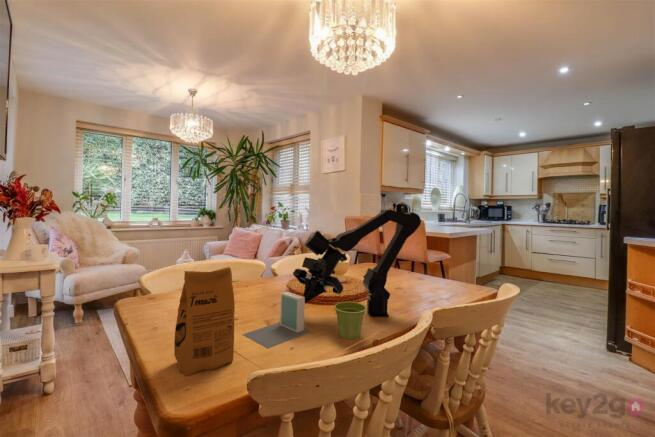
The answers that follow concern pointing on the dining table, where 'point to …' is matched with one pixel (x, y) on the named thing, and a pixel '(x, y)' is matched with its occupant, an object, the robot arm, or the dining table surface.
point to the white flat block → (292, 311)
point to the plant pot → (350, 319)
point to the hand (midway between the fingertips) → (303, 302)
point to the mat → (273, 335)
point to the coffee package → (205, 321)
